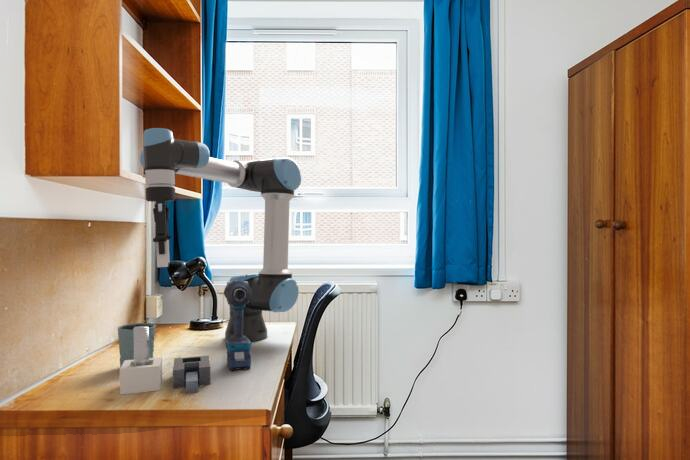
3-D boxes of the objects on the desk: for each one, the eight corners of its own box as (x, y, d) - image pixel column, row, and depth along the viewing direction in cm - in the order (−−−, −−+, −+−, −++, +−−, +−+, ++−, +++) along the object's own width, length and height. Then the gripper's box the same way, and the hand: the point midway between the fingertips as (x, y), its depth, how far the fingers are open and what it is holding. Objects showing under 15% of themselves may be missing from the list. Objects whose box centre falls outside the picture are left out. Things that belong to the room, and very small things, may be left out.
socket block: (174, 374, 133) (174, 358, 133) (209, 371, 136) (208, 355, 136) (173, 388, 121) (172, 370, 121) (210, 384, 124) (210, 366, 124)
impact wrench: (226, 380, 127) (224, 284, 127) (224, 358, 149) (222, 276, 149) (257, 377, 129) (255, 283, 129) (250, 356, 151) (248, 275, 151)
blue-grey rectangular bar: (186, 383, 125) (186, 372, 125) (197, 382, 126) (197, 371, 126) (185, 393, 117) (185, 381, 117) (198, 392, 118) (197, 380, 118)
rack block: (125, 383, 126) (124, 360, 126) (162, 379, 129) (161, 357, 129) (120, 394, 117) (119, 369, 117) (160, 390, 120) (159, 365, 120)
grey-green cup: (123, 364, 145) (122, 323, 145) (158, 361, 147) (158, 321, 147) (114, 373, 135) (113, 330, 135) (153, 370, 137) (152, 328, 137)
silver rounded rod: (135, 385, 124) (134, 326, 124) (150, 384, 125) (149, 325, 125) (133, 389, 121) (132, 329, 121) (149, 388, 122) (148, 328, 122)
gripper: (148, 189, 143) (151, 262, 143) (141, 183, 119) (145, 269, 120) (175, 189, 145) (178, 260, 146) (174, 182, 121) (177, 267, 122)
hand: (163, 264), depth 133 cm, fingers open, 13 cm apart
